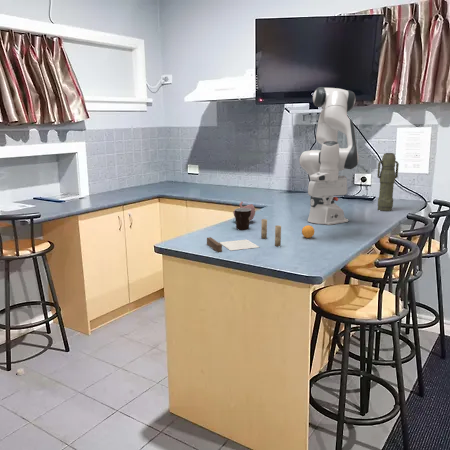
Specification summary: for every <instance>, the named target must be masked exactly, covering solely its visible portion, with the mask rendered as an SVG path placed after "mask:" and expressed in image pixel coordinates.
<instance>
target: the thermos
mask: <svg viewBox="0 0 450 450" xmlns="http://www.w3.org/2000/svg"><path fill="white" fill-rule="evenodd" d="M395 155H396V154H395V153H393V152H384V154H383V155H382V158H381V160H379V162H378V165H377V173H376V174H377V179H379V183H380V184H379V194H378V198H377V211H379V210H380V212H392V211H393V207H394V197H393V195H394V186H395V185H394V184H395V182H396V179H397V178H398V175H399V165H400V164H399V162H398V161H397V160H396V156H395Z"/></svg>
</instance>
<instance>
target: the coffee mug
mask: <svg viewBox="0 0 450 450" xmlns="http://www.w3.org/2000/svg"><path fill="white" fill-rule="evenodd" d="M234 211H235V216H234V218H235V227H236V230H238V229H239V230H238V231H246V230H247V231H248V230H250V222H251V221H250V215H251V209H248V208H240V207H237V208H235V209H234Z"/></svg>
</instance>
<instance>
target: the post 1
mask: <svg viewBox="0 0 450 450" xmlns="http://www.w3.org/2000/svg"><path fill="white" fill-rule="evenodd" d="M260 226H261V228H260V229H261V231H260V233H261V236H260V237H261V239H262V240H265V239H268V238H267V236H268V235H267V234H268V219H267V218H266V219H265V218H263V219H261V225H260Z"/></svg>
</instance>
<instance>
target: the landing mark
mask: <svg viewBox="0 0 450 450" xmlns="http://www.w3.org/2000/svg"><path fill="white" fill-rule="evenodd" d="M218 243H220V244H221V245H222V247H224V248H226V249H227V250H229V251H230V252H232V251H240V250H249V249H250V250H251V249H256V248H257V249H258V248H260V246H259V245H257V244H255V243H254V242H252V241H250V240H248V239H239V240H237V239H236V240H229V241H221V242H220V241H219V242H218Z"/></svg>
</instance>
